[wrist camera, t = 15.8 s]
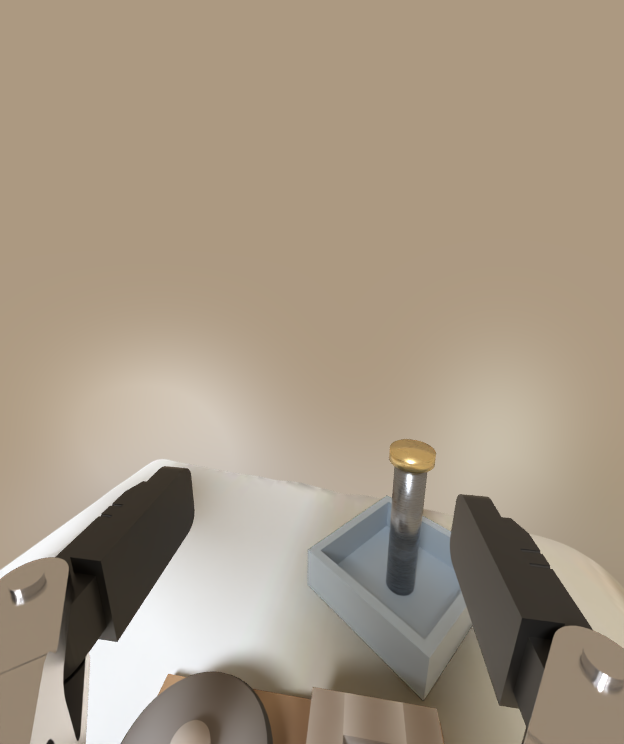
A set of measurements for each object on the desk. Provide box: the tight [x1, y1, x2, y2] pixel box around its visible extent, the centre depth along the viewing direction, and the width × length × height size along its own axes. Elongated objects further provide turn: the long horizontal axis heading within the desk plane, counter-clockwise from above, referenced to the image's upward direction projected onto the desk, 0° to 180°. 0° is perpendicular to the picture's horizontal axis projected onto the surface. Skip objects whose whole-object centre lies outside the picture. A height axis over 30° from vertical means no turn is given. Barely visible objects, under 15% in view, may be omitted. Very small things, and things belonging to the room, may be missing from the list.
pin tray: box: [308, 496, 472, 701], centre depth 38 cm, size 15×15×5 cm
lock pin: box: [386, 439, 436, 596], centre depth 36 cm, size 4×4×17 cm
